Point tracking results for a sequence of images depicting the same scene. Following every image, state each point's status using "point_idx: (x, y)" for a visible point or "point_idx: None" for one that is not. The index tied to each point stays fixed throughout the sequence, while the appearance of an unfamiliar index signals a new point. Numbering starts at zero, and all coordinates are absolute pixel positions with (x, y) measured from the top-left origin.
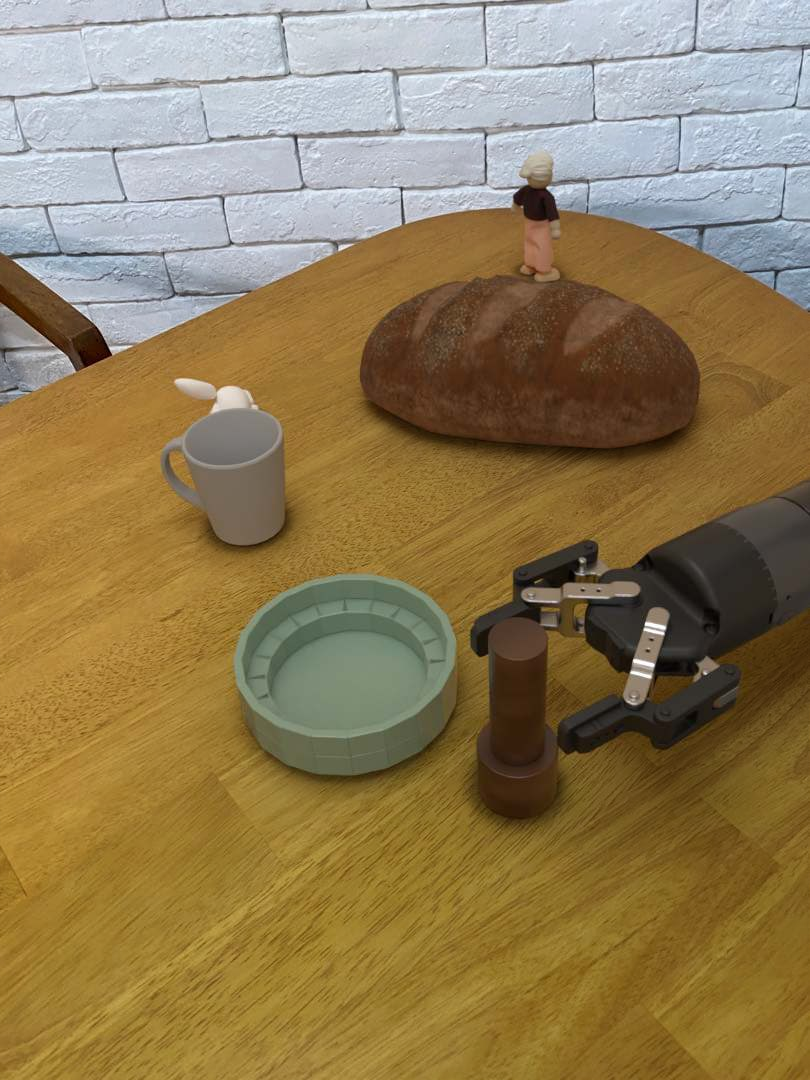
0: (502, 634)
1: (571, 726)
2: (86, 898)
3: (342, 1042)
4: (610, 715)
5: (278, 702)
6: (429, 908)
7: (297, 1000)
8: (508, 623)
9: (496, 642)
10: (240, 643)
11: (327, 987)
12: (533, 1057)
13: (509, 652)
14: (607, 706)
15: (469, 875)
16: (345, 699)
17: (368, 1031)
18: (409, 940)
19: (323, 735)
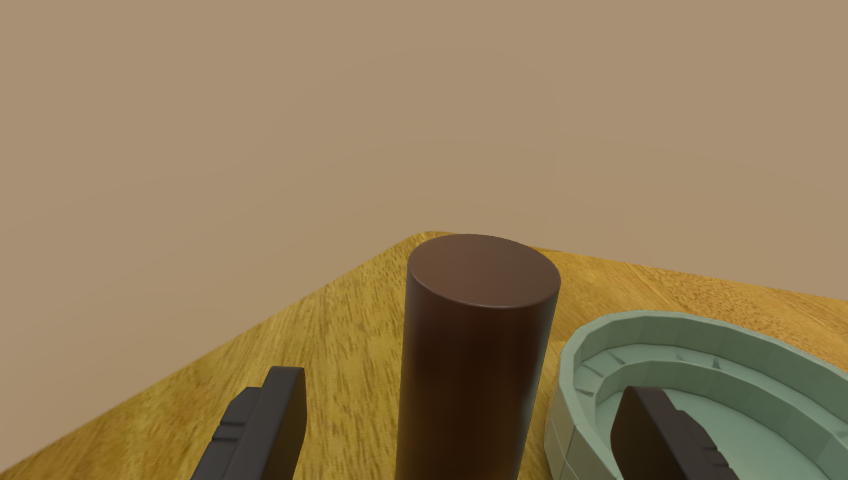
0: (511, 255)
1: (273, 370)
2: None
3: (305, 313)
4: (220, 473)
5: (690, 398)
6: (350, 405)
7: (357, 308)
8: (542, 273)
9: (494, 243)
10: (758, 333)
11: (350, 322)
12: (151, 396)
13: (452, 244)
14: (236, 462)
15: (352, 456)
16: None
17: (296, 326)
18: (335, 377)
19: (574, 336)
